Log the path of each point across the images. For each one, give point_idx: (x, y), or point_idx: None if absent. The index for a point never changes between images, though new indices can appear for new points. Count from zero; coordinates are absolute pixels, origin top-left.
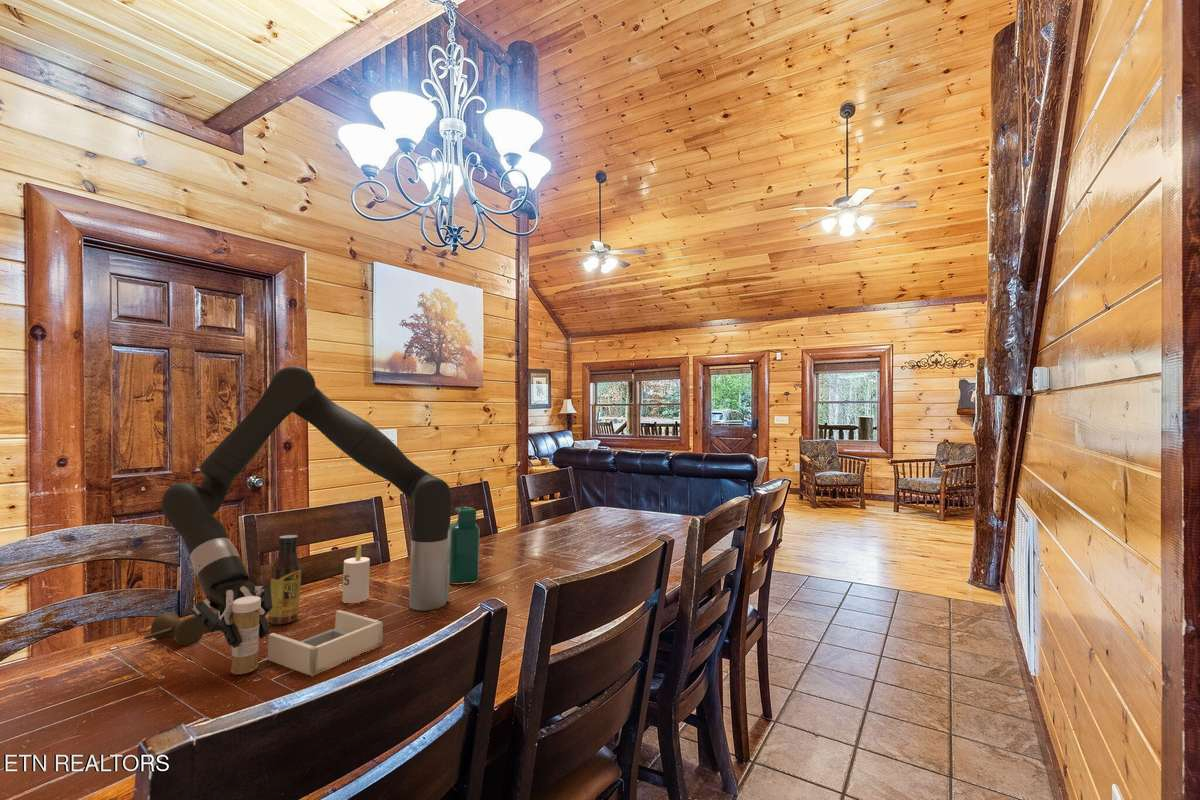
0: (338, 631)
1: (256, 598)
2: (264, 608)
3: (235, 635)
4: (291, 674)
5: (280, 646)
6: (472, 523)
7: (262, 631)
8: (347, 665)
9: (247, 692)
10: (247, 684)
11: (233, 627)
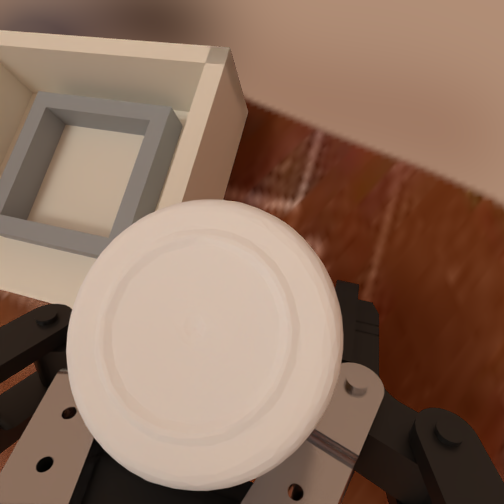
0: (2, 193)
1: (144, 248)
2: None
3: (356, 308)
4: (252, 176)
5: None
6: None
7: None
8: None
9: (391, 203)
10: (350, 248)
11: (346, 342)
